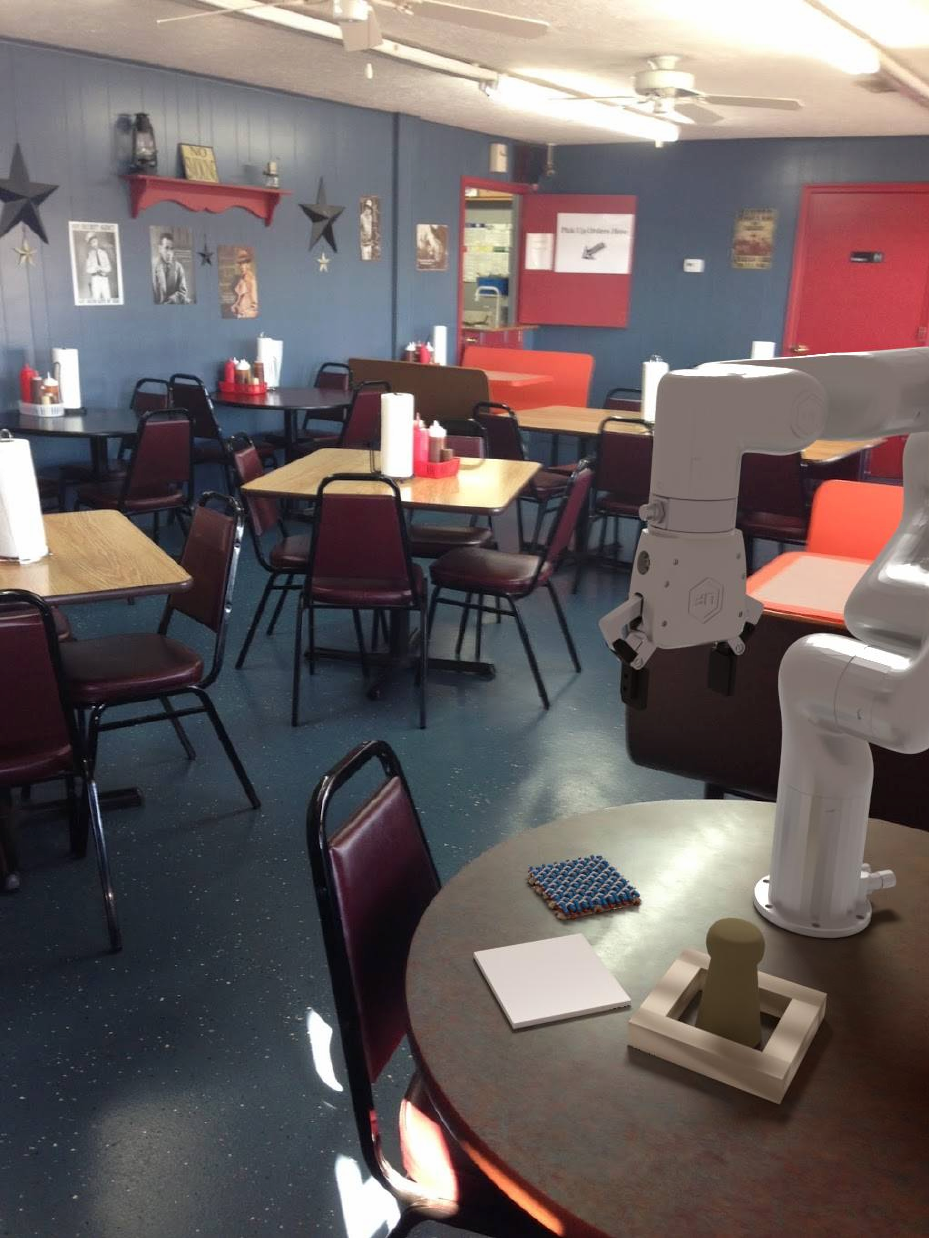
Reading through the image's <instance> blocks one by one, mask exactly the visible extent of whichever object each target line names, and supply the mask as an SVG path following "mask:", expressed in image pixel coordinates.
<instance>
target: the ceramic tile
mask: <svg viewBox="0 0 929 1238" xmlns="http://www.w3.org/2000/svg"><path fill="white" fill-rule="evenodd" d="M473 958H474V960H475V962H476V965H477V966H478V967H479V969H480V971H481V973H482V975H483V977H484V978H485V980H486V981H487V983H488V985H489V987H490V989H491V992H492V993H493V994H494V997H495V998H496V1000H497V1002H498V1003H499V1005H500V1008H501V1009H502V1011H503V1012H504V1014H505V1016H506V1018H507V1019H508V1021H509V1023H510V1025H511V1027H512V1029H513V1030H516V1029H521V1028H526V1027H530V1026H537V1025H540V1024H545V1023H550V1022H555V1021H560V1020H565V1019H570V1018H575V1017H580V1016H586V1015H591V1014H596V1013H600V1012H605V1011H610V1009H611V1010H614V1009H613V1008H616V1009H618V1008H617V1007H621V1008H625V1007H624V1006H626V1007H628V1006H627V1005H631V1006H632V999H631V998H630V996H629V995H628V994H627V993H626V991H625V990H624V988H623V987H622V986H621V984H620V983H619V982H618V980H617V979H616V978H615V977H614V975H613V974H612V972H611V971H610V970H609V968H608V967H607V965H606V964H605V963H604V962H603V961H602V958H600V956H599V955H598V954H597V952H596V951H595V949H594V948H593V947H592V945H591V944H590V942H588V940H587V939H586V938H585V936H584V935H583V933H582V932H581V933H576V934H570V935H564V936H558V937H552V938H546V939H540V940H536V941H528V942H523V943H518V944H512V945H506V946H501V947H495V948H490V949H484V950H479V951H474V952H473Z"/></svg>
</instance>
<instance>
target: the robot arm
mask: <svg viewBox="0 0 929 1238" xmlns="http://www.w3.org/2000/svg"><path fill="white" fill-rule="evenodd" d="M655 397H656V400H655V412H654V413H655V414H654V426H653V427H654V428H653V443H652V445H653V446H652V457H651V459H652V460H651V473H650V484H649V485H650V488H649V489H650V490H649V496H648V503H647V504H642V505H641V506H639V509H638V515H639V518H640V519H641V521H647V528H643V529H642V530H641V534H640V537H639V540H638V544H637V549H636V552H635V556H634V561H633V566H632V571H631V577H630V578H631V579H630V584H629V585H630V586H629V591H628V593H629V594H628V600H626V601H625V602H623V603H621V604H620V605H618V606H617V607H616V608H614V609H613V610H611V611H610V612H609V613H607V614H605V615H604V616H603V617H601V618H600V619H599V621H598V626H599V629H600V631H601V634H602V636H603V638H604V640H605V644H606V647H607V648H608V650H610V651H611V652H612V653H613V655H614V656H615V657H616V658H615V659H616V660H617V661H619V662H621V668H620V669H621V670H620V685H619V687H620V689H619V694H620V699H621V700H620V701H621V702H622V703H623V704H625V705H627V706H629V707H630V708H632V709H634V710H636V711H637V712H644V711H646V710H647V708H648V697H649V685H650V683H649V680H650V670H649V668H647V667H646V666H645V664H646V663H647V662H648V660H649V659H650V658H651V656H652V655H653V653H654V652H655V651H656V649H657V648H660V649H662V650H663V649H665V650H668V649H669V650H672V649H680V648H681V649H682V648H687V647H694V646H701V645H702V646H703V645H709V644H710V645H711V644H715V645H716V646H711V647H710V650H709V658H708V665H707V666H708V669H707V679H706V686H707V688H709V689H710V690H713V691H714V692H716V693H717V694H720V695H722V696H724V697H727V698H729V697H734V695H735V684H736V676H737V665H738V664H737V663H738V657H739V656H741V655H742V654H743V653H744V651H745V649H746V643H747V642H748V641H749V640H750V638H751V637H752V636H753V635H754V633H755V632H756V626H755V625H757V624H758V621H759V619H761V615H762V614H763V612H764V610H765V604H764V603H763V602H761V601H760V600H758V599H756V598H754V597H753V596H750V595H749V594H747V560H746V558H747V557H746V549H745V542H744V537H743V531H742V530H741V529H738V528H736V520H737V513H738V512H737V511H738V510H737V508H738V497H739V492H740V491H739V489H740V477H741V468H742V467H741V466H742V465H741V464H742V457H743V454H745V453H753V454H754V453H755V454H764V455H771V456H787V455H792V454H796V453H798V452H802V451H804V450H805V449H808V448H809V447H811V446H812V445H813V444H814V443H815V442H817V441H825V442H826V441H827V442H845V443H847V442H850V443H851V442H852V443H853V442H854V443H855V442H856V443H857V442H868V441H872V440H879V439H884V438H890V437H897V436H904V435H908V437H907V440H906V443H905V445H904V448H903V454H902V477H903V478H902V479H903V483H902V485H903V487H902V488H903V492H902V493H903V497H902V499H903V501H902V502H903V503H902V504H903V505H902V514H901V519H900V521H899V524H898V526H897V528H896V529H895V531H894V533H893V534H892V535H891V537H890V539H889V540H888V541H887V542H886V544H885V545H884V547H883V548H882V549H881V550H880V552H879V553H878V555H877V556H876V557H875V559H873V561H872V563H870V565H869V567H868V568H867V570H865V572H864V573H863V575H862V576H861V577H860V579H859V580H858V581H857V583H856V584H855V586H854V588H853V589H852V590H851V592H850V594H849V595H848V597H847V599H846V602H845V605H844V608H843V621H844V624H845V627H846V629H847V630H848V631H849V632H850V633H851V635H852V636H854V637H855V638H853V637H848V636H844V635H841V634H836V633H835V634H834V633H826V632H820V633H818V632H817V633H812V634H807V635H804V636H802V637H800V638H798V639H797V640H796V641H795V642H793V643H792V644H791V645H790V646H789V647H788V648H787V650H786V652H785V653H784V655H783V656H782V659H781V661H780V665H779V670H778V680H777V681H778V684H777V687H778V696H779V697H778V698H779V706H780V712H781V727H782V728H781V731H782V734H781V735H782V737H781V754H780V765H779V766H780V767H779V772H778V773H779V775H778V783H777V785H778V786H777V794H776V796H777V797H776V806H775V815H774V824H773V825H774V827H773V836H772V848H771V857H770V867H769V874H768V875H767V876H764V877H762V878H761V879H759V880H758V881H757V882H756V884H755V885H754V888H753V895H752V896H753V897H752V901H753V904H754V907H755V908H756V909H757V912H759V913H760V914H761V915H762V917H764V918H766V920H768V921H769V922H771V923H773V924H774V925H776V926H778V927H779V928H782V929H784V930H787V931H789V932H792V933H796V934H797V935H798V934H799V935H803V936H808V937H812V938H813V937H814V938H822V939H836V938H844V937H849V936H852V935H856V934H858V933H860V932H861V931H864V930H865V928H867V927H868V925H869V924H870V922H871V918H872V913H873V911H872V905H871V902H870V900H869V899H868V898H867V895H870V894H872V893H873V892H874V890H882V889H888V888H889V889H890V888H892V887H895V886H896V885H897V878H896V875H895V873H894V872H893V871H892V870H891V869H884V870H879V871H875V872H872V868H871V865H870V864H869V863H867V862H864V863H863V860H864V853H865V846H866V845H865V843H866V838H867V836H866V835H867V829H868V819H869V814H870V813H869V812H870V811H869V810H870V806H871V805H870V804H871V795H872V788H873V781H874V780H873V779H874V762H873V761H874V760H873V755H872V750H871V747H870V744H869V743H871V744H874V745H875V746H876V745H877V746H879V747H882V748H885V749H887V750H890V751H894V752H897V753H902V754H909V755H910V754H911V755H912V754H919V753H921V752H924V751H926V750H928V749H929V346H919V347H917V346H915V347H906V348H905V347H904V348H896V349H895V348H894V349H893V348H892V349H883V350H871V351H855V352H836V353H825V354H824V353H822V354H814V355H806V356H805V355H803V356H793V357H791V356H790V357H772V358H751V359H736V360H723V361H722V360H721V361H712V362H711V361H709V362H705V363H702V364H699V365H697V366H695V367H693V368H691V369H685V368H684V369H674V370H670V371H668V372H666V373H665V374H663V375H662V376H661V378H660V379H659V381H658V385H657V388H656V396H655ZM626 625H627V630H628V632H629V634H628V635H627V637H626V638H625V639H624V635H623V628H624V627H625V626H626Z"/></svg>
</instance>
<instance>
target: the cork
mask: <svg viewBox="0 0 929 1238" xmlns="http://www.w3.org/2000/svg"><path fill="white" fill-rule="evenodd" d="M705 937H706V938H705V945H706V950H707V951H706V952H707V954H708V955H709V956H710V957H711V959H710V963H709V967H708V972H707V976H706V980H705V984H704V988H703V991H702V993H701V998H700V1000H699V1005H698V1006H699V1007H698V1009H697V1014H696V1019H695V1023H694V1027H695V1028H698V1029H701V1030H703V1031H706V1032H709V1033H712V1034H714V1035H717V1036H720V1037H722V1038H725V1039H728V1040H731V1041H733V1042H736V1043H739V1044H741V1045H744V1046H747V1047H750V1048H752V1049H755V1048H756V1047H757V1046H758V1044H759V1043H760V1042H761V1038H762V1025H761V1024H762V1023H761V1011H760V1005H759V987H758V971H759V970H758V965H759V963H761V961H762V960H763V957H764V955H765V949H766V941H765V937H764V934H763V933H762V931H761V930H760V928H759V927H758V926H756V925H755V924H754V923H752V922H750V921H749V920H748V921H747V920H746V919H742V918H737V917H727V918H721V919H718V920H715V922H714V923H713V924H712V925H711V926H710V927H709V928H708V931H707V934H706V936H705Z"/></svg>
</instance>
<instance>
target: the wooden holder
mask: <svg viewBox="0 0 929 1238" xmlns="http://www.w3.org/2000/svg"><path fill="white" fill-rule="evenodd" d="M710 959H711V957H710V956H709V954H708V953H704V952H701V951H698V950H696V949H693V948H689V947H685V948H684V949H683V951H681V953H680V955H678V957H677V958H676V960H675V961H674V962H673V964H672V965H671V966H670V967H669V968H668V970H667V971H666V973H665V974H664V975H663V976H662V978H661V979H660V980H659V982H658V983H657V984H656V985H655V987H654V988H653V989H652V990H651V992H650V993H649V994H648V996H647V997H646V998H645V1000H644V1001H643V1002H642V1003H641V1004H640V1005H639V1007H638V1009H637V1010H636V1011H635V1013H633V1015H632V1016H631V1018H630V1019H629V1020H628V1025H627V1041H626V1042H627V1043H626V1045H627V1044H628V1045H627V1046H629V1045H630V1046H629V1047H631V1046H633V1047H632V1048H634V1049H636V1048H637V1049H636V1050H639V1049H640V1050H639V1051H642V1052H644V1053H647V1054H649V1053H650V1055H651V1056H654V1055H655V1056H654V1057H657V1058H659V1059H662V1060H665V1061H668V1062H670V1063H673V1064H674V1065H678V1066H680V1067H681V1068H682V1067H683V1068H685V1069H688V1070H691V1071H693V1072H695V1073H698V1074H701V1075H703V1076H706V1077H708V1078H709V1079H710V1078H711V1079H713V1080H716V1081H719V1082H721V1083H724V1084H726V1085H728V1086H731V1087H734V1088H736V1089H740V1090H741V1091H744V1092H747V1093H748V1094H752V1095H755V1096H757V1097H759V1098H762V1099H765V1100H767V1101H770V1102H772V1103H775V1104H777V1105H781V1103H782V1100H783V1099H784V1097H785V1095H786V1093H787V1091H788V1089H789V1086H790V1085H791V1083H792V1081H793V1079H794V1077H795V1075H796V1073H797V1071H798V1070H799V1067H800V1065H801V1063H802V1061H803V1059H804V1057H805V1055H806V1053H807V1051H808V1049H809V1047H810V1046H811V1044H812V1042H813V1040H814V1038H815V1035H816V1034H817V1032H818V1029H819V1027H820V1026H821V1024H822V1021H823V1020H824V1018H825V1014H826V1013H825V1012H826V1006H827V1005H826V1004H827V996H828V994H827V993H826V992H822V991H820V990H817V989H814V988H810V987H807V986H804V985H801V984H798V983H795V982H793V981H789V980H786V979H785V978H784V979H783V978H781V977H777V976H774V975H771V974H769V973H766V972H762V971H760V970H758V987H759V1005H760V1012H762V1013H766V1014H767V1015H771V1016H774V1017H777V1018H780V1020H779V1022H778V1024H777V1025H776V1028H775V1029H774V1030H773V1032H772V1034H771V1036H770V1038H769V1039H768V1042H767V1043H766V1045H765V1047H764V1049H763V1051H760V1050H758V1049H755V1048H750V1047H747V1046H744V1045H741V1044H739V1043H736V1042H733V1041H731V1040H728V1039H725V1038H722V1037H720V1036H717V1035H714V1034H712V1033H709V1032H706V1031H703V1030H701V1029H698V1028H695V1026H692V1025H689V1024H687V1023H685V1022H682V1021H678V1020H679V1018H681V1016H682V1015H683V1013H684V1011H685V1010H686V1009H687V1008H688V1006H689V1005H690V1003H691V1002H692V1000H693V999H694V997H695V996H696V995H697V993H698V992H699V991H702V992H703V988H704V984H705V980H706V976H707V972H708V967H709V963H710Z"/></svg>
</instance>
